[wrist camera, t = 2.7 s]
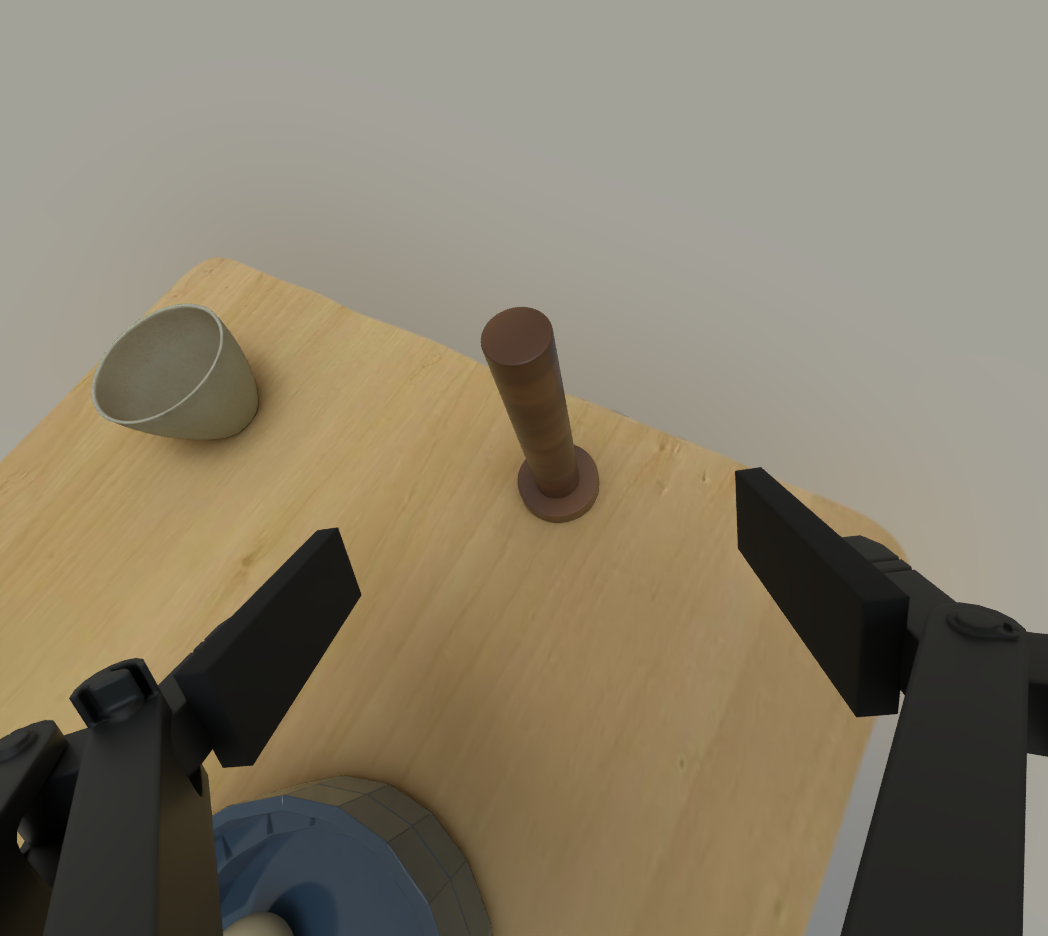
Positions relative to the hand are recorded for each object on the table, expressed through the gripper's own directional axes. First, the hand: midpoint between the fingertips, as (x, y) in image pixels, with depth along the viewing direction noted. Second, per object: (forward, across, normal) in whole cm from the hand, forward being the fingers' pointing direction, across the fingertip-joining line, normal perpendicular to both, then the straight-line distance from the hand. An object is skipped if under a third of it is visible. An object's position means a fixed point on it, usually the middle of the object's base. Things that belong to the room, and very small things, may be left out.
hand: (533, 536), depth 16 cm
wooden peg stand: (+16, 0, -5) cm, 16 cm away
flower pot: (+23, -26, +3) cm, 35 cm away
